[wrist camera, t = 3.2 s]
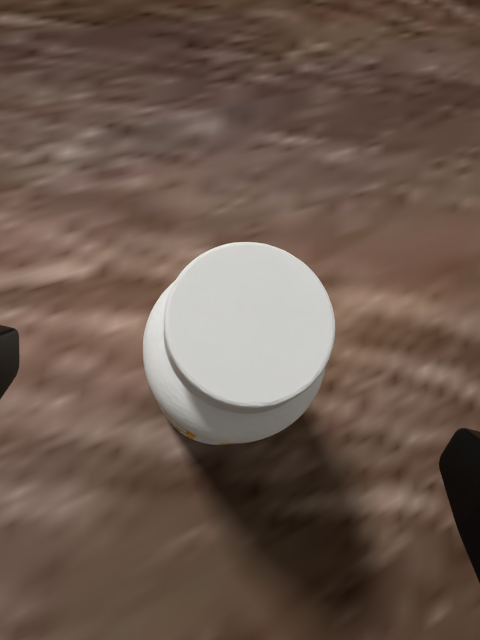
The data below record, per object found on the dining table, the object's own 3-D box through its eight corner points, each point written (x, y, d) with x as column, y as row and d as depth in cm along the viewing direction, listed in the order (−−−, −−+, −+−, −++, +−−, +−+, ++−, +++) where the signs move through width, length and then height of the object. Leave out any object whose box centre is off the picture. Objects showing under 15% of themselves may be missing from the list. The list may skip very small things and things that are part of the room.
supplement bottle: (289, 340, 20) (382, 248, 11) (262, 459, 18) (344, 471, 9) (176, 307, 20) (172, 185, 11) (138, 426, 18) (94, 404, 9)
